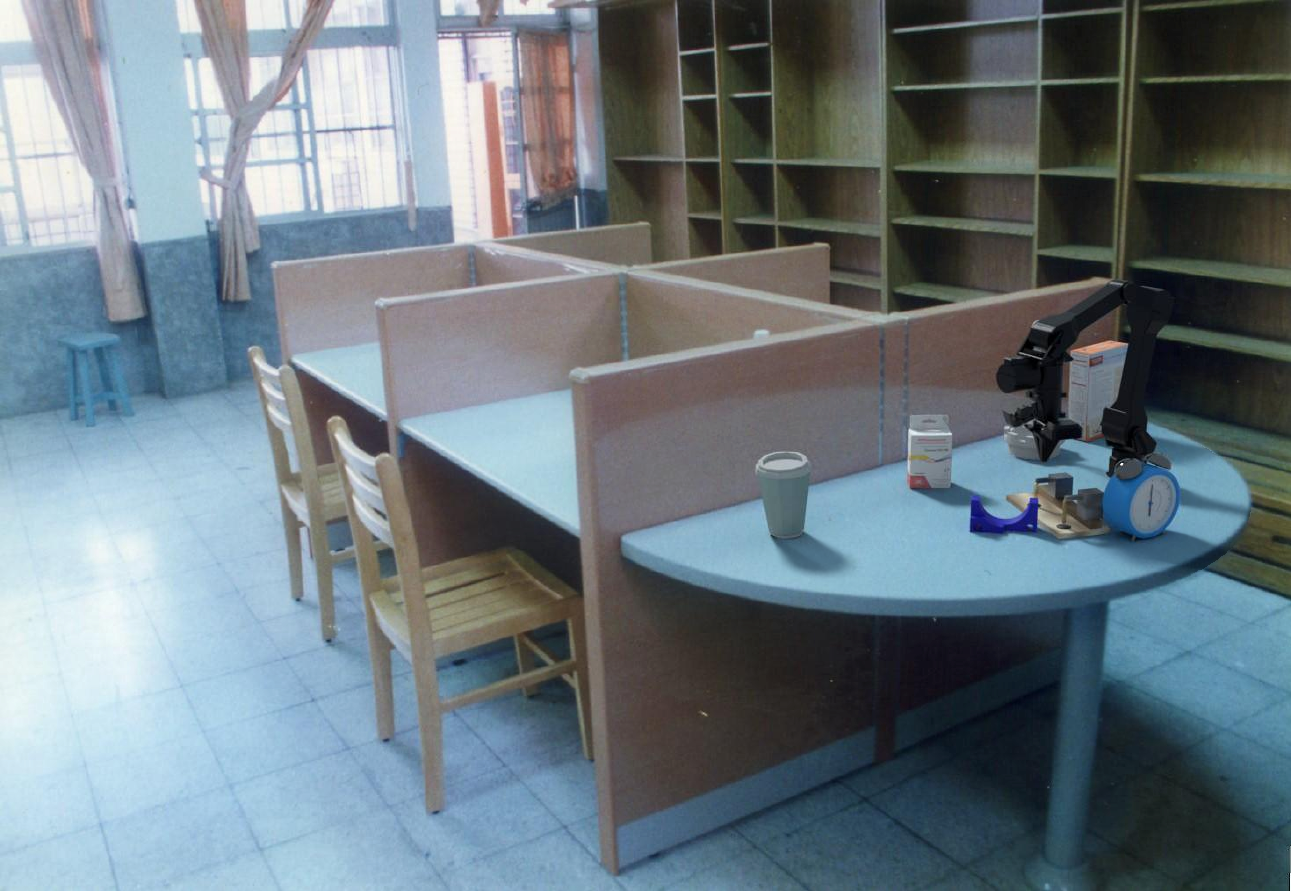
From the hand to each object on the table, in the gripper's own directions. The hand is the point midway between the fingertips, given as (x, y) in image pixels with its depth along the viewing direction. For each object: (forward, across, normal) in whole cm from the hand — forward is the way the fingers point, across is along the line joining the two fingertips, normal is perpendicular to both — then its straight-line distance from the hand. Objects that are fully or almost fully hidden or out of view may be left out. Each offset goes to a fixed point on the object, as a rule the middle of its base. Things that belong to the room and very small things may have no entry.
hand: (1043, 461), depth 236 cm
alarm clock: (+8, +23, +7) cm, 25 cm away
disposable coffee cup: (+8, +4, -54) cm, 55 cm away
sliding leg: (+6, +7, -2) cm, 9 cm away
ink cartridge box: (+8, -14, -18) cm, 24 cm away
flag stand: (+8, -28, +12) cm, 31 cm away
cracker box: (+8, -36, +31) cm, 48 cm away
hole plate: (+8, +10, -2) cm, 13 cm away
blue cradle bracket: (+8, +14, -15) cm, 22 cm away
